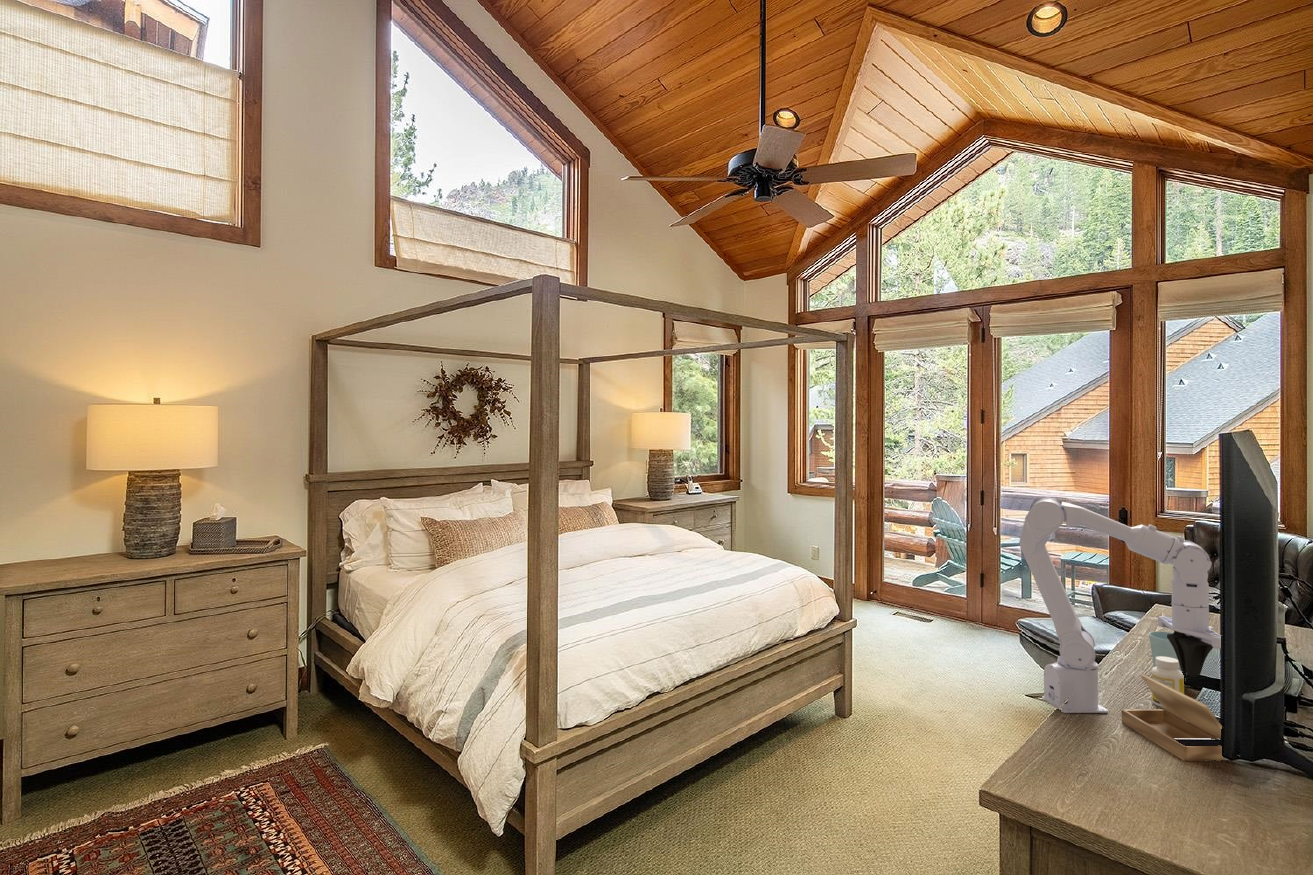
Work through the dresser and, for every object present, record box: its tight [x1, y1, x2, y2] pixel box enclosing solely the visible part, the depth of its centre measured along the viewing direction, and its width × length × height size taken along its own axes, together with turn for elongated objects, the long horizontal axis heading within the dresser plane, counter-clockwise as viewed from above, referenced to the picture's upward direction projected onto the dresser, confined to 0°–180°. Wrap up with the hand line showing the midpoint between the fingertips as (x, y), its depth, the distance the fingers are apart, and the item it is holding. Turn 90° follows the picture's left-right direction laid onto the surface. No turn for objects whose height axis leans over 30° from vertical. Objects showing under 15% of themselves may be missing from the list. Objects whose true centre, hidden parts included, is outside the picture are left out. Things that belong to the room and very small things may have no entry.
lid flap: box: [1139, 672, 1223, 739], centre depth 125 cm, size 8×16×1 cm
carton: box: [1121, 708, 1224, 762], centre depth 125 cm, size 8×16×2 cm, turn 179°
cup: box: [1148, 630, 1182, 672], centre depth 154 cm, size 8×8×10 cm
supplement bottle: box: [1151, 656, 1185, 709], centre depth 140 cm, size 5×5×10 cm
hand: (1190, 673), depth 131 cm, fingers closed
